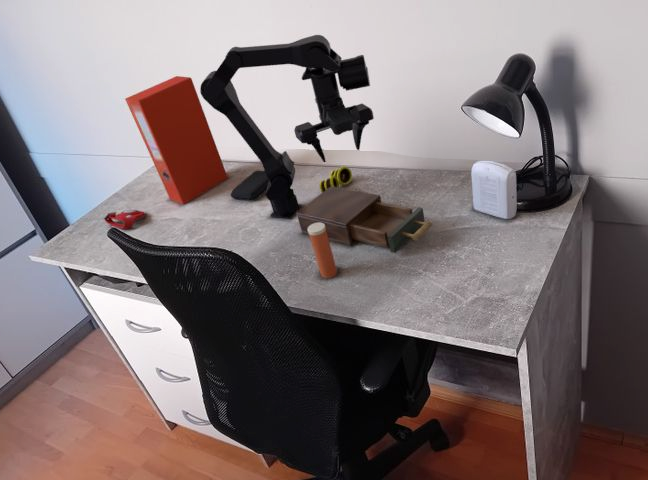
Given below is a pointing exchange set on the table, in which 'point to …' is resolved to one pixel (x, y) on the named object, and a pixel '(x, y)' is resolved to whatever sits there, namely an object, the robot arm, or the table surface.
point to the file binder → (178, 138)
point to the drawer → (389, 225)
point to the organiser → (336, 212)
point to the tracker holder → (124, 218)
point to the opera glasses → (337, 179)
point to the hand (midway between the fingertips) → (341, 155)
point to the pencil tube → (322, 250)
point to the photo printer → (494, 189)
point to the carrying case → (251, 187)
